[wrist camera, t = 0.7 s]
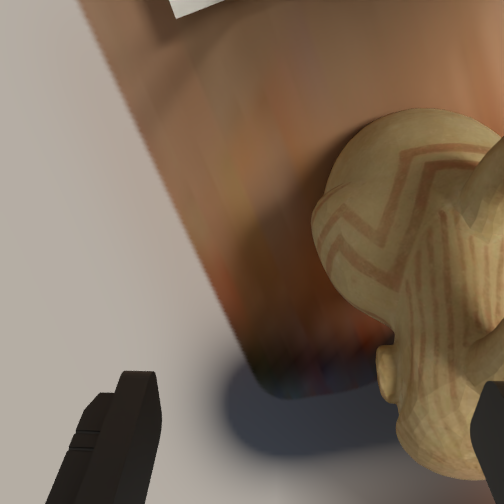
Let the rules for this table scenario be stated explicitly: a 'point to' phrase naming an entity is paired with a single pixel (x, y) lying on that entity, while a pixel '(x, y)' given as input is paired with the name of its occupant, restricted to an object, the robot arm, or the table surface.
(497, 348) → the ceramic vessel
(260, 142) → the table surface
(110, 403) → the robot arm
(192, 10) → the breaker board
